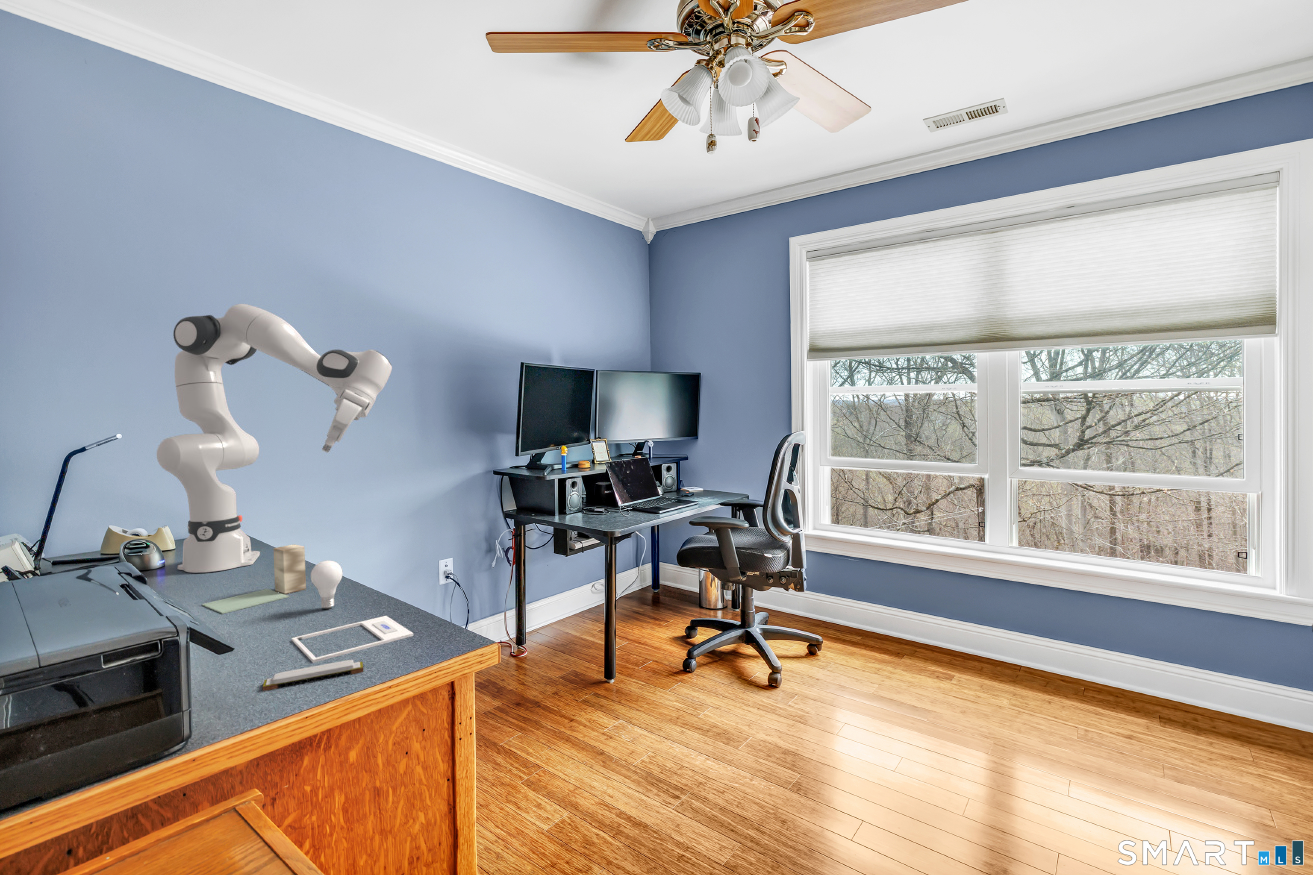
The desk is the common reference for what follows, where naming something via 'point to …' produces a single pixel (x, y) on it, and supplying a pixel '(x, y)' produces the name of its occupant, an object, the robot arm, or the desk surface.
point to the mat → (244, 601)
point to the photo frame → (378, 626)
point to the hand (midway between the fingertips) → (326, 448)
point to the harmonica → (312, 673)
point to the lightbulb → (326, 581)
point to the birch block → (289, 569)
